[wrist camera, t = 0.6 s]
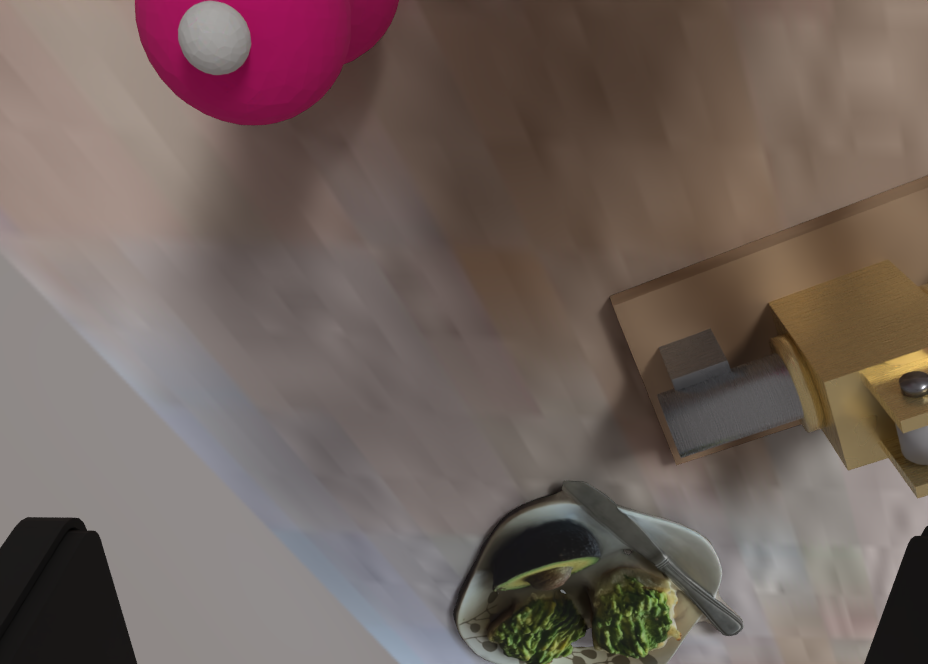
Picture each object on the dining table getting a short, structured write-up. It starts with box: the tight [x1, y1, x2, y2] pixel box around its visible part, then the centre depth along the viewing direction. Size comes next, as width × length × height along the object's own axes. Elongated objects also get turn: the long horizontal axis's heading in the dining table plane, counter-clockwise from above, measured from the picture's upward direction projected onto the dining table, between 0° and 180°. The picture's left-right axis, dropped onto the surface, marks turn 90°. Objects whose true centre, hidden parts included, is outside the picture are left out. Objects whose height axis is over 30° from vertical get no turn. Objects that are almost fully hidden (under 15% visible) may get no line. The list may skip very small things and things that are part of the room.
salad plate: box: [453, 481, 744, 664], centre depth 55 cm, size 19×18×5 cm
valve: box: [657, 259, 928, 498], centre depth 40 cm, size 21×6×11 cm, turn 114°
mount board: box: [610, 176, 928, 465], centre depth 45 cm, size 22×12×1 cm, turn 114°
